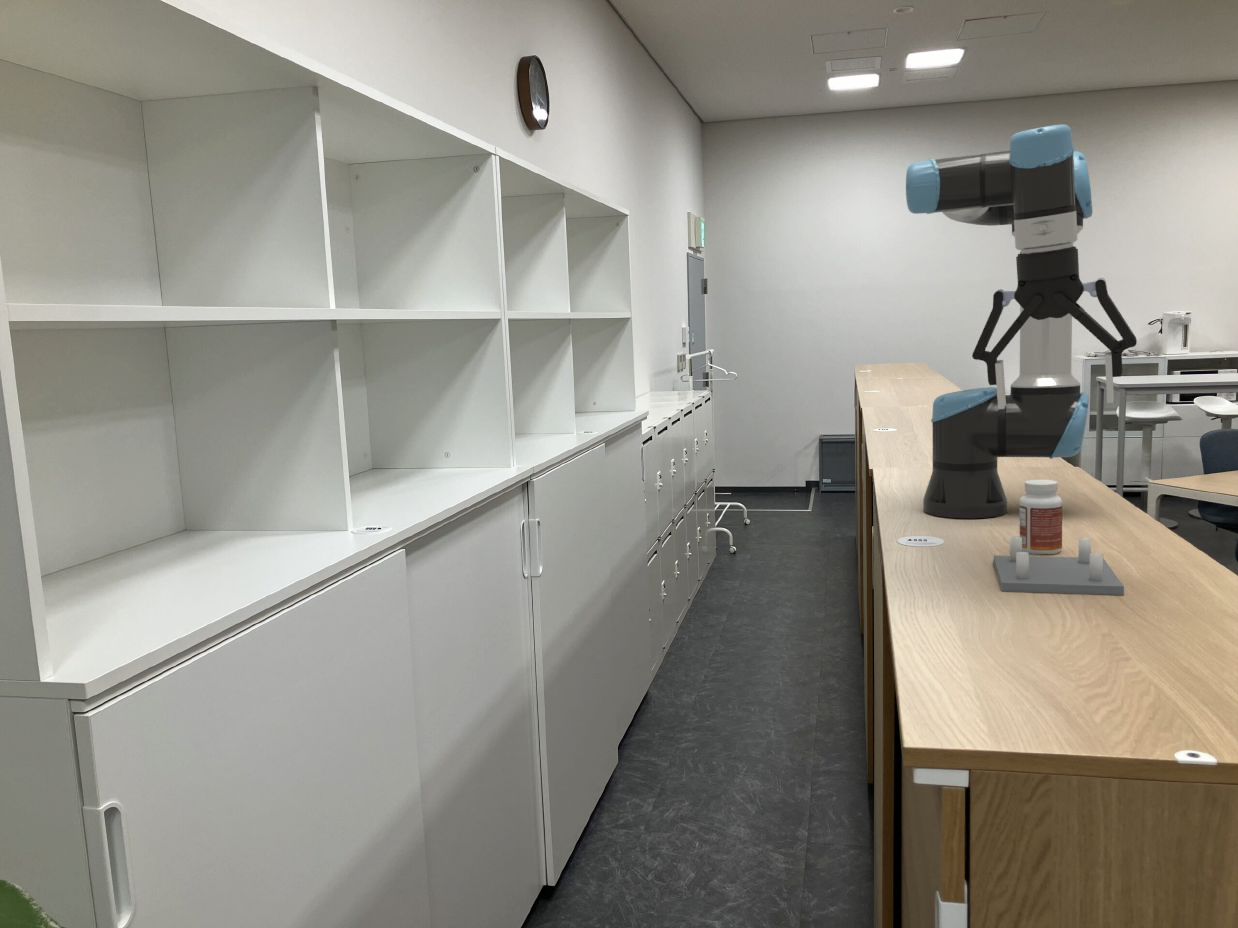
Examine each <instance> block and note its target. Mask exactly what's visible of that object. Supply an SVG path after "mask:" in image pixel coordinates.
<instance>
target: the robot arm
mask: <svg viewBox="0 0 1238 928" xmlns="http://www.w3.org/2000/svg"><path fill="white" fill-rule="evenodd" d="M1072 134H1073V133H1072V129H1071V127H1070V126H1069V125H1067V124H1054V125H1053V124H1052V125H1048V126H1042V127H1037V128H1031V129H1026V130H1023V131H1019V132H1016V133H1014V134H1013V135H1012V136H1011V137H1010V140H1009V150H1002V151H995V152H988V153H987V152H986V153H980V154H973V155H971V154H970V155H963V156H962V155H961V156H954V157H946V158H937V159H934V158H929V159H926V160H924V161H923V160H922V161H917V162H915V161H914V162H913V163H911V164H909V166H908V167H907V170H906V176H905V196H906V197H905V199H906V205H907V209H908V211H909V212H910V213H911V214H926V215H929V214H934V213H935V214H936V213H942V214H943V215H944V216H945V217H947V218H948V219H950V220H952V221H955V222H959V223H966V224H968V225H970V224H971V225H976V226H977V225H978V226H990V227H991V226H992V227H993V226H1006V225H1007V226H1008V225H1011V235H1012V236H1013V237H1014V245H1015V247H1014V248H1015V249H1016V250H1018V251H1020V252H1019V253H1018V254H1017V256H1016V257H1015V258H1016V259H1015V260H1016V261H1015V262H1016V279H1017V287H1016V289H1015V290H1003V289H998V290H996V291H995V292H994V293H993V295H992V297H993V298H992V299H993V300H992V309H991V312H990V313H989V316H988V318H987V320H986V322H985V325H984V328H983V329H982V331H981V334H980V336H979V338H978V340H977V343H976V344H975V348H974V349H973V351H972V359H973V360H976V361H983V362H984V363H985V364H986V369H987V370H986V373H987V382H988V384H989V386H990V387H978V388H971V389H964V390H958V391H952V392H949V393H948V392H947V393H944V394H941V395H938V396H937V397H936V398H935V399H934V400H933V402H932V403H933V404H932V418H931V420H930V422H931V424H932V426H931V427H932V473H931V475H930V478H929V481H928V484H927V486H926V491H925V494H924V496H923V501H922V502H923V503H922V505H923V507H922V509H923V510H922V511H923V512H924V513H926V514H929V515H932V516H937V517H942V518H951V519H952V518H953V519H984V518H985V519H986V518H992V517H999V516H1002V515H1005V514H1007V513H1008V499H1007V495H1006V493H1005V490H1004V487H1003V484H1002V480H1001V478H1000V475H999V472H998V458H1049V459H1055V458H1070V457H1071V458H1072V457H1074V456H1077V454H1079V452H1080V451H1081V449H1082V445H1083V441H1084V436H1085V431H1086V424H1087V418H1088V409H1089V402H1090V395H1089V394H1088V393H1086V392H1084V391H1083V392H1082V391H1081V382H1079V381H1078V380H1077V379H1076V378H1075V377H1074V376H1073V375H1072V349H1073V348H1072V345H1073V342H1072V340H1073V339H1072V338H1073V318H1074V320H1076V321H1078V322H1079V323H1080V324H1081V325H1082V326H1083V327H1084V328H1085V329H1086V330H1088V331H1089V333H1091V334H1092V336H1093V337H1095V338H1096V339H1097V340H1098V341H1099V342H1100V343H1101V344H1103V345H1104V346H1105V347H1106V348H1107V349H1108V350H1110V351H1105V354H1104V359H1105V361H1104V362H1105V363H1104V364H1105V382H1106V383H1105V385H1106V386H1105V387H1106V403H1107V404H1112V403H1113V404H1114V400H1115V398H1114V397H1115V396H1114V394H1115V393H1114V378H1116V377H1117V378H1118V377H1119V378H1120V377H1121V376H1122V375H1123V352H1124V351H1125V350H1127V349H1130V348H1134V347H1135V346H1136V345H1137V340H1138V339H1137V337H1136V336H1135V334H1134V332H1133V330H1132V329H1131V327H1130V326H1129V325H1128V323H1127V321H1126V319H1125V318H1124V317H1123V315H1122V313H1121V312H1120V311H1119V309H1118V308H1117V306H1116V305H1115V302H1114V301H1113V300H1112V298H1111V296H1110V295H1109V293H1108V286H1107V285H1108V284H1107V281H1106V279H1105V278H1104V277H1099V278H1097V279H1096V280H1092V281H1088V282H1082V281H1081V279H1080V268H1079V266H1080V265H1079V249H1078V248H1077V247H1076V246H1074V243H1075V242H1077V241H1078V234H1080V232H1081V231H1083V229H1084V219H1089V218H1091V217H1092V216H1093V202H1092V190H1091V181H1090V174H1089V169H1088V162H1087V158H1086V156H1085V155H1084V154H1083V153H1082V152H1080V151H1075V147H1074V143H1073V135H1072ZM1084 292H1087V293H1089V295H1090V296H1091V297H1092V298H1097V299H1098V302H1099V304H1100V306H1101V307H1102V309H1103V311H1104V312H1105V313H1106V315H1107V317H1108V318H1109V320H1110V321H1111V323H1112V325H1113V326H1114V328H1115V329H1116V331H1117V332H1118V334H1119V336H1120V337H1121V338H1122V339H1120V340H1118V339H1116V337H1114V336H1113V335H1112V334H1111V333H1110V332H1109V331H1108V330H1107V329H1106V328H1104V327H1103V326H1102V325H1101V324H1100V323H1099V322H1098V321H1097V320H1096V319H1095V318H1094V317H1092V316H1091V315H1090V314H1089V313H1088V312H1087V311H1086V310H1085V308H1083V307H1082V306H1081V305H1080V304H1079V303H1078V301H1079V299H1080V297H1081V296H1082V295H1083V293H1084ZM1012 300H1015V301H1016V303H1018V305H1019V315H1018V316H1017V318H1016V319H1015V320H1014V322H1012V324H1011V325H1010V327H1009V328H1008V329H1007V330H1006V331H1005V333H1004V334H1003V335H1002V337H1001V338H1000V339H999V340H998V342H997V343H996V345H995V346H994V347H993V348H992V349H991V351H988V350H986V349H987V347H988V345H989V342H990V341H991V338H992V336H993V333H994V331H995V329H996V326H997V325H998V322H999V320H1000V317H1001V316H1002V313H1003V311H1004V307H1005V308H1006V307H1008V306H1009V305H1010V303H1011V302H1012ZM1018 332H1019V375H1018V377H1017V378H1016V379H1015V380H1014V381H1013V382H1011V384H1010V394H1006V385H1005V384H1006V383H1005V381H1006V380H1005V367H1004V359H998V358H999V357H1000V355H1001V354H1002V353H1003V351H1004V350H1005V348H1006V347H1007V346H1008V345H1009V344H1010V342H1011V341H1012V340H1013V339H1014V338H1015V336H1016V335H1017V333H1018Z"/></svg>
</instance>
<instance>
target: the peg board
mask: <svg viewBox="0 0 1238 928" xmlns="http://www.w3.org/2000/svg"><path fill="white" fill-rule="evenodd" d="M1009 539H1010V541H1009V555H997V554H994V555H993V565H994V570H995V574H996V576H997V579H998V585H999V586H1000V590H1001V592H1014V593H1015V592H1018V593H1019V592H1020V593H1045V594H1046V593H1047V594H1048V593H1050V594H1051V593H1052V594H1075V595H1076V594H1078V595H1079V594H1080V595H1084V594H1085V595H1107V596H1108V595H1109V596H1124V595H1125V594H1124V593H1125V592H1124V591H1125V586H1124V584H1123V583H1122V582H1121V580H1120V579H1119V577H1118V576H1117V575H1116V573H1115V572H1114V571H1113V569H1112V568H1111V567H1110V565H1109V564H1108V562H1107V561H1106V560H1105V559H1104V555H1103V553H1098V552H1097V553H1096V552H1092V538H1089V537H1079V538H1078V553H1077V554H1078V556H1046V555H1040V556H1038V555H1031V556H1030V553H1028V552H1024V551H1022V537H1020V536H1010V537H1009Z"/></svg>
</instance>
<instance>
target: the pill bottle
mask: <svg viewBox="0 0 1238 928" xmlns="http://www.w3.org/2000/svg"><path fill="white" fill-rule="evenodd" d="M1024 491H1025V492H1026V493H1025V494H1023V495H1022V496H1021V497H1020V499H1019V537H1022V552H1028V553H1029V554H1031V555H1054V554H1058V553H1060V552H1061V551H1062V549H1063V500H1062V498H1061V497H1060V496H1059V495H1057V494H1056V492H1057V491H1058V482H1057V481H1056V480H1051V479H1030V480H1026V481H1025V482H1024Z"/></svg>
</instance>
